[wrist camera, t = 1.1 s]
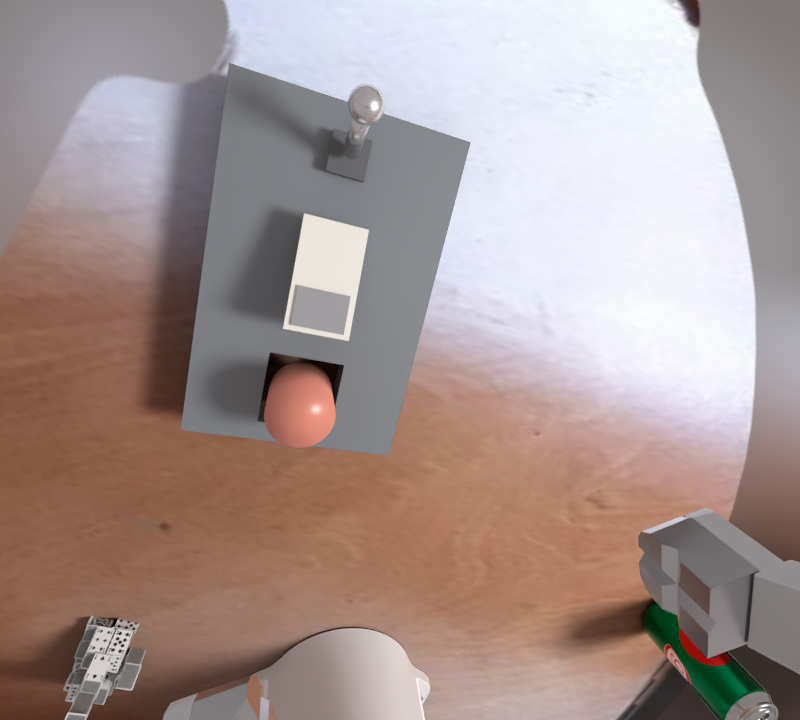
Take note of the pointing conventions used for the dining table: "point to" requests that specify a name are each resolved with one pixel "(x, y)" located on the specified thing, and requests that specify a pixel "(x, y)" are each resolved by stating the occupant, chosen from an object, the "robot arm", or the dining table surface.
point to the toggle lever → (362, 117)
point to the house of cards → (102, 665)
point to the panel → (277, 248)
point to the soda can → (709, 672)
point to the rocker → (325, 278)
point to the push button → (300, 405)
